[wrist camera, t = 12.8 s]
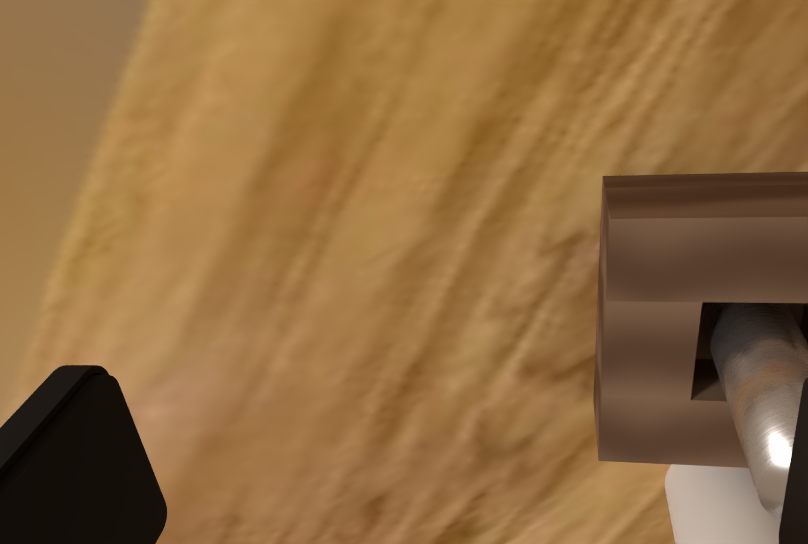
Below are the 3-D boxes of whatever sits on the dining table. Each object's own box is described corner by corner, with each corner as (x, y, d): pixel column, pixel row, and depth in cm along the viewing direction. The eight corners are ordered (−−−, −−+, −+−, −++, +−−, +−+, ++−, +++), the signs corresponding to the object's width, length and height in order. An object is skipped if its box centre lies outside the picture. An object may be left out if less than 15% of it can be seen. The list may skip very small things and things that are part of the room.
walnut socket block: (602, 176, 37) (610, 218, 32) (917, 169, 34) (971, 215, 30) (593, 400, 43) (598, 460, 39) (856, 409, 41) (892, 475, 36)
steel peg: (704, 278, 37) (766, 444, 26) (791, 279, 36) (889, 450, 26) (696, 345, 39) (750, 524, 28) (779, 347, 38) (865, 531, 28)
